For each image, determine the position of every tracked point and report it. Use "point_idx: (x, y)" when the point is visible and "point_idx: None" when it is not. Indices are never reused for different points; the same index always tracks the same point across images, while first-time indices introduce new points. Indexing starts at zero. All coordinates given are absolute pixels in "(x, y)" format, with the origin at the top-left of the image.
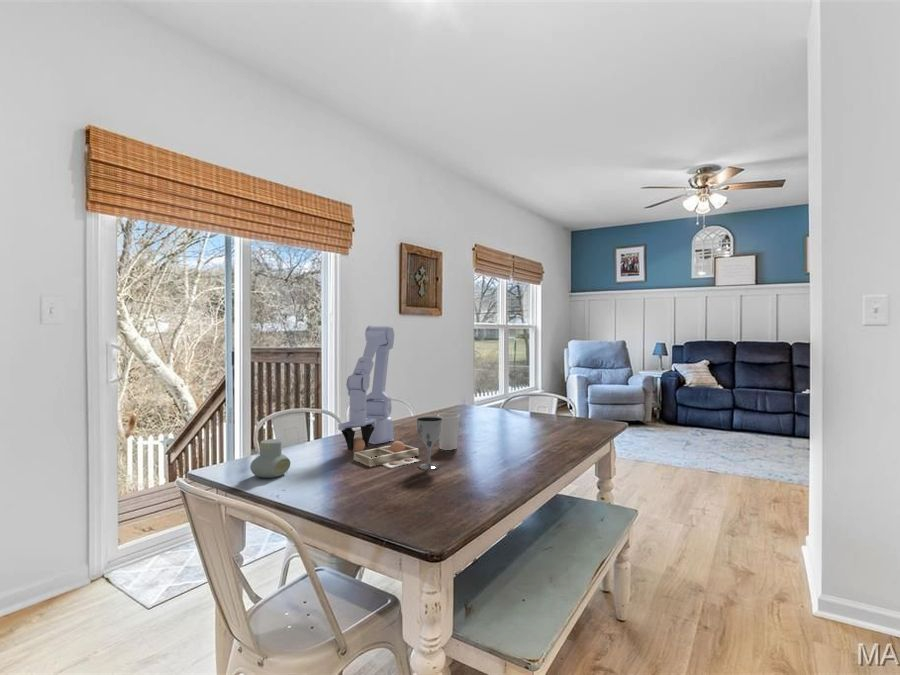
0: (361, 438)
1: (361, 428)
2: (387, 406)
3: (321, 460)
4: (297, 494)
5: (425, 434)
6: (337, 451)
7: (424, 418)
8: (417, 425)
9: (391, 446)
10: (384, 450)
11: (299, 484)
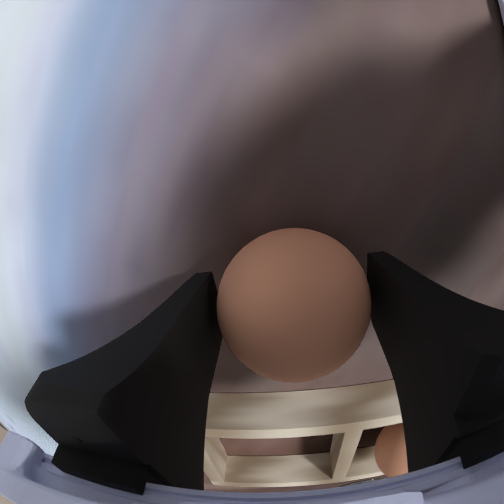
0: (342, 356)
1: (458, 363)
2: None
3: (33, 299)
4: (38, 444)
5: None
6: (145, 140)
7: None
8: None
9: (383, 462)
10: (339, 456)
11: (26, 421)
